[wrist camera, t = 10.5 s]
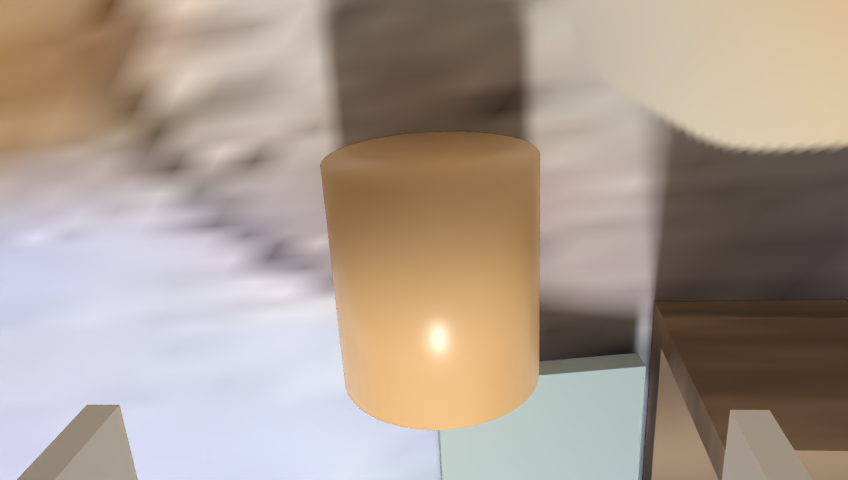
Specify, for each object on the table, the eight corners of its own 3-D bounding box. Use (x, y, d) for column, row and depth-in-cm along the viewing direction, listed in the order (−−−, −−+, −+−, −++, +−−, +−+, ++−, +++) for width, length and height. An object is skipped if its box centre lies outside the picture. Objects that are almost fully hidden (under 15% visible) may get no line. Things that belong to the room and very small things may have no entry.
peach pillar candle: (349, 133, 26) (290, 190, 20) (539, 129, 25) (541, 187, 19) (367, 323, 29) (321, 425, 23) (538, 326, 28) (540, 434, 22)
